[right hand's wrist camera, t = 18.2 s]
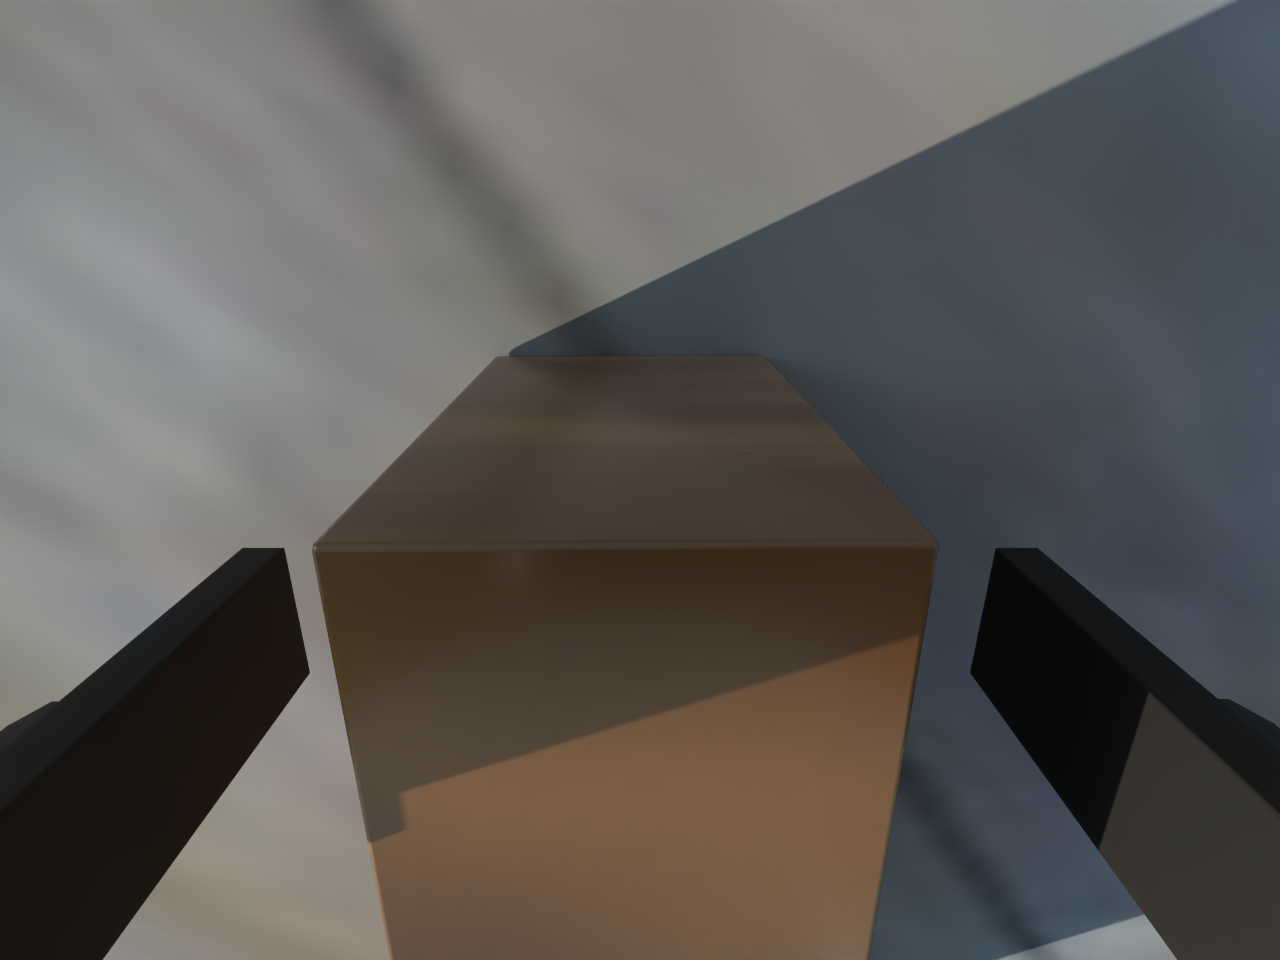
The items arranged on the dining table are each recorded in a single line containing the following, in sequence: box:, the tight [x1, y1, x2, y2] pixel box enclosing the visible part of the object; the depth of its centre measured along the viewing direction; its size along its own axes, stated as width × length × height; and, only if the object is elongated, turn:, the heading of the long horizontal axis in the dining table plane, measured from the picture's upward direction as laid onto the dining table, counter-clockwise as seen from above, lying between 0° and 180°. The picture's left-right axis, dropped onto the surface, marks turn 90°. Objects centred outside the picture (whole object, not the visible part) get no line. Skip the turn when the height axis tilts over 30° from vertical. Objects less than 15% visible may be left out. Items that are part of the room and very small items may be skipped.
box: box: [312, 355, 938, 960], centre depth 15 cm, size 24×6×10 cm, turn 0°
